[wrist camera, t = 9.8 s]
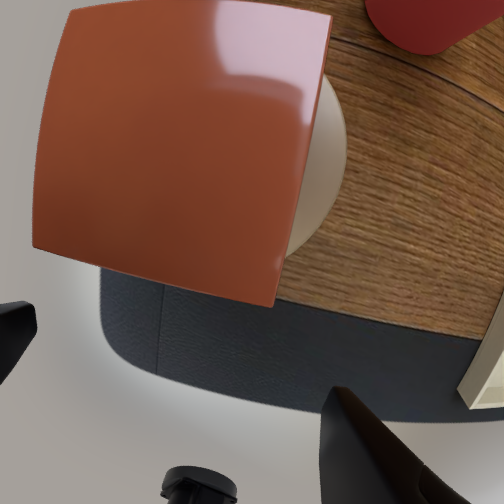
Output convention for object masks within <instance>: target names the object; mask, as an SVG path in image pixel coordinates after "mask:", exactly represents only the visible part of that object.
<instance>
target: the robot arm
mask: <svg viewBox="0 0 504 504" xmlns="http://www.w3.org/2000/svg"><path fill="white" fill-rule="evenodd" d="M36 333H37V321H36V313H35V308H34V306H33V305H32V304H30V303H28V302H26V301H18V302H11V303H6V304H0V385H1V384H2V382H3V381H4V380H5V379H6V377H7V376H8V375H9V373H10V372H11V371H12V369H13V368H14V367H15V365H16V364H17V362H18V361H19V359H20V358H21V356H22V355H23V353H24V351H25V350H26V348H27V347H28V345H29V344H30V342H31V341H32V339H33V338H34V337H35V335H36ZM319 470H320V485H321V502H322V504H471V503H470V502H468V501H467V500H466V499H464V498H463V497H462V496H460V495H459V494H458V493H456V492H455V491H454V490H453V489H452V488H450V487H449V486H448V485H447V484H445V483H444V482H443V481H442V480H441V479H440V478H439V477H438V476H437V475H436V474H435V473H433V472H432V471H431V470H430V469H429V468H428V467H427V466H426V465H424V463H423V462H422V461H421V460H420V459H419V458H418V457H417V456H416V455H415V454H414V453H413V452H412V451H411V450H410V449H409V448H407V446H406V445H405V444H404V443H403V442H402V441H401V440H400V439H399V438H397V436H396V435H394V434H393V433H392V432H391V431H390V430H389V429H388V428H387V427H386V426H385V425H384V424H383V423H382V422H381V421H380V420H379V419H378V418H377V417H376V416H375V415H374V414H373V413H372V412H371V411H370V410H369V409H368V407H367V406H366V405H365V404H364V403H363V402H362V401H361V400H360V399H359V398H358V397H357V396H356V395H355V394H354V393H353V392H352V391H351V390H350V389H349V388H347V387H340V386H334V387H332V388H331V390H330V392H329V395H328V397H327V399H326V401H325V403H324V406H323V408H322V412H321V430H320V449H319ZM160 495H161V496H162V497H164V498H166V499H168V500H169V501H168V504H235V503H237V498H235V497H233V496H230V495H228V494H225V493H223V492H220V491H218V490H215V489H213V488H211V487H208V486H206V485H204V484H201V483H199V482H197V481H195V480H193V479H191V478H188V477H182V478H181V479H179V480H178V481H176V482H175V483H173V484H172V485H170V486H169V487H167V488H166V489H164V490H163V491H162V492H161V494H160Z"/></svg>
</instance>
